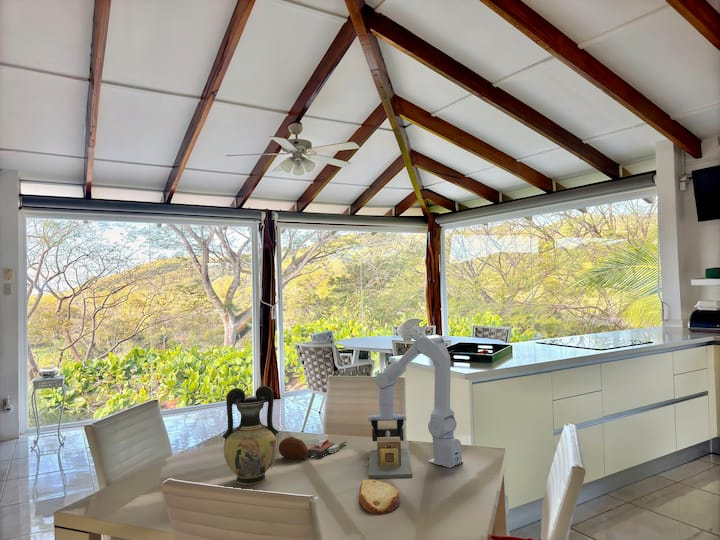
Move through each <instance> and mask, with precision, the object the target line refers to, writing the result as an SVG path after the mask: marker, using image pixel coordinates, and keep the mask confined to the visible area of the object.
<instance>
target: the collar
mask: <svg viewBox="0 0 720 540" xmlns="http://www.w3.org/2000/svg"><path fill="white" fill-rule="evenodd" d="M385 453H394V461H385ZM380 457H381V467H399V461H398V447H386V446H385V447H380Z"/></svg>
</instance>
